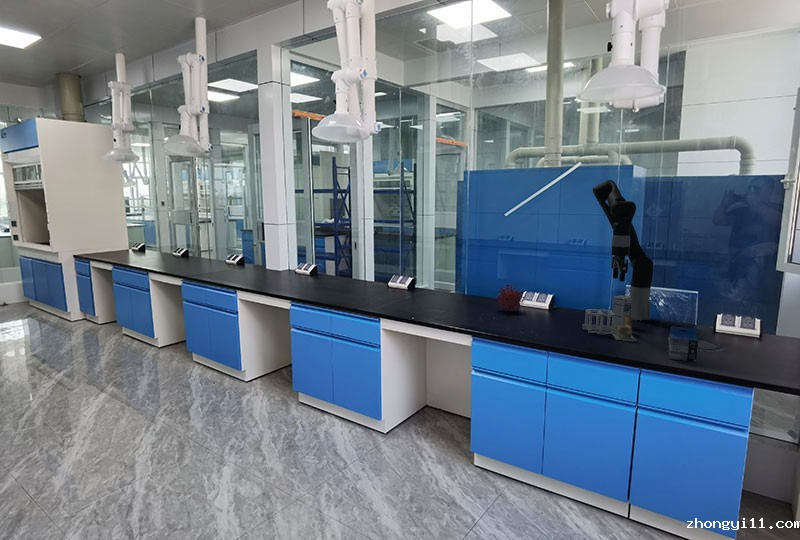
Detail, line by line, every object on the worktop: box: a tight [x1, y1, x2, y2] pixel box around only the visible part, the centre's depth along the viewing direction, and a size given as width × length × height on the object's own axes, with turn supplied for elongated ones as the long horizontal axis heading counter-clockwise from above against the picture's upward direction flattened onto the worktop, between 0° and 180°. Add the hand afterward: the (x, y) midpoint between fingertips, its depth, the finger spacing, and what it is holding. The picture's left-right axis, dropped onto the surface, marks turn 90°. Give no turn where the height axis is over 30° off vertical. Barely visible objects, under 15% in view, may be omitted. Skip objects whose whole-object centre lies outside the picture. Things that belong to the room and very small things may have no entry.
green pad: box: [611, 334, 637, 342], centre depth 201 cm, size 8×8×1 cm
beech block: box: [616, 324, 633, 339], centre depth 201 cm, size 5×5×5 cm
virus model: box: [496, 284, 525, 313], centre depth 250 cm, size 15×15×15 cm
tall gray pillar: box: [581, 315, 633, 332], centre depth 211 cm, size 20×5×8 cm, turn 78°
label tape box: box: [667, 326, 699, 362], centre depth 173 cm, size 9×4×12 cm, turn 69°
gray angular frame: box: [584, 308, 617, 335], centre depth 211 cm, size 12×10×10 cm
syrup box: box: [612, 294, 631, 325], centre depth 222 cm, size 6×6×14 cm
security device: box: [667, 335, 724, 353], centre depth 191 cm, size 17×22×2 cm
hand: (618, 279), depth 209 cm, fingers open, 8 cm apart
